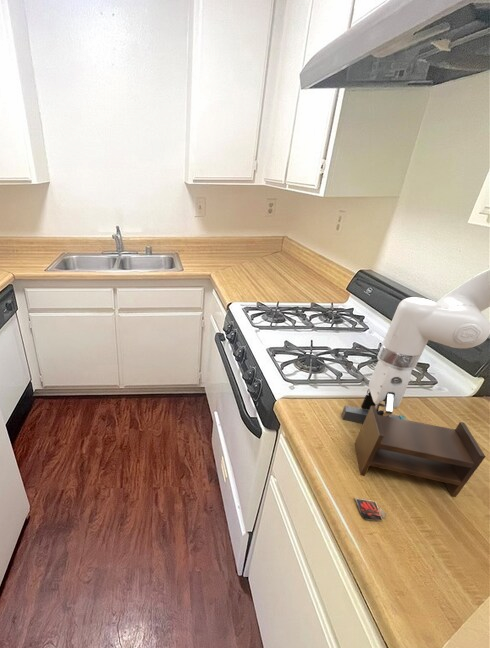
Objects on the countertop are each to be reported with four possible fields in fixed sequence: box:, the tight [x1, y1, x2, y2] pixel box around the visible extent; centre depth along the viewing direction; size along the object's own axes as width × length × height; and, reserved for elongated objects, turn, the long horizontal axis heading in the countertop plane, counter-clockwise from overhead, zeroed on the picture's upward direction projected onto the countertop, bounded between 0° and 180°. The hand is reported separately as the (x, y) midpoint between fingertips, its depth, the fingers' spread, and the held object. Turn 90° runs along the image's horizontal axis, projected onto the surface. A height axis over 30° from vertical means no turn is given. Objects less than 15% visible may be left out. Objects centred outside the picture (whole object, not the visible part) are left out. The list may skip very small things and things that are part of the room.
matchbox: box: [353, 497, 387, 522], centre depth 64 cm, size 5×5×1 cm
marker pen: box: [341, 405, 406, 424], centre depth 85 cm, size 13×3×3 cm, turn 72°
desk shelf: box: [354, 406, 486, 498], centre depth 70 cm, size 17×10×11 cm, turn 72°
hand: (370, 418), depth 85 cm, fingers open, 7 cm apart
